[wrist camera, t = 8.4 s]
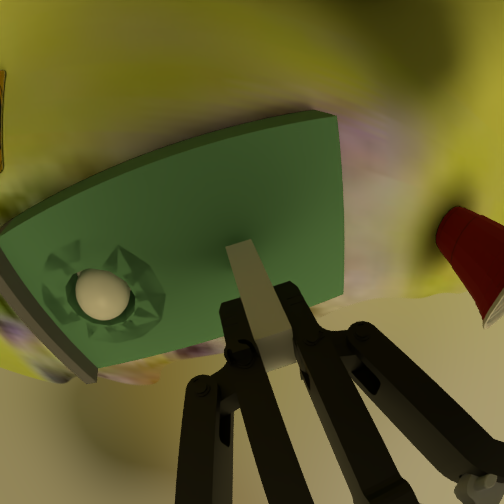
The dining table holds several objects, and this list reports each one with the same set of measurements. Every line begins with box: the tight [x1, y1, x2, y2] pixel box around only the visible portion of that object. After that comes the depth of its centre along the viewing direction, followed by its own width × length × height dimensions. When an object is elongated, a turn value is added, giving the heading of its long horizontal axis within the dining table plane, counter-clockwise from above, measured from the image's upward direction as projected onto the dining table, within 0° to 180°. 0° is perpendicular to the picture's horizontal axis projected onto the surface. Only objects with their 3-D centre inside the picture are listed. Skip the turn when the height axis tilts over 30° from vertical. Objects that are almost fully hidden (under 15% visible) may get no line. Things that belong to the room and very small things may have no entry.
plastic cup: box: [436, 207, 504, 329], centre depth 22 cm, size 11×11×12 cm
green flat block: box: [0, 110, 344, 384], centre depth 17 cm, size 14×23×4 cm, turn 102°
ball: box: [75, 268, 130, 320], centre depth 17 cm, size 4×4×4 cm
